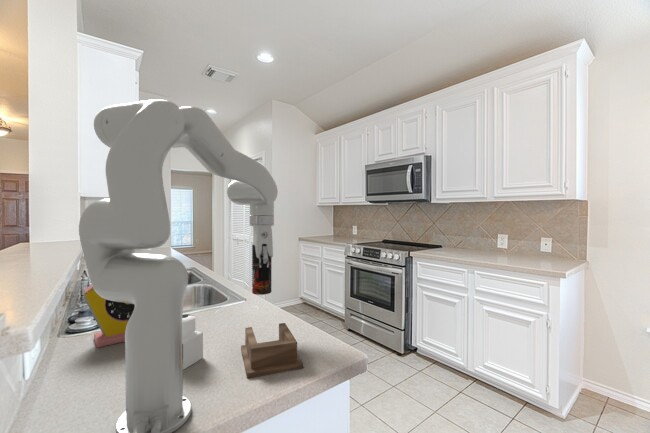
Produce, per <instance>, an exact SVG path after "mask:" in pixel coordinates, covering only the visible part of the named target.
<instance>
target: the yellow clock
mask: <svg viewBox="0 0 650 433" xmlns="http://www.w3.org/2000/svg"><path fill="white" fill-rule="evenodd" d="M82 297H83V299H84V301H85V304H86V305H87V307H88V308H89V310H90V313H91V314H92V316H93V318H94V320H95V322H96V324H97V326H98V328H99V329H100V331H97V332H95V333H94V334H93V339H94V343H95V347H96V348H98V349H99V348H104V347H109V346H111V345H116V344H120V343H125V331H126V326H127V323H128V321H129V319H130V317H131V315H132V313H133V311H134V307H135V305H134V304H130V303H123V302H116V301H110V300H106V299H104V298H102V297H100V296H99V295H98V294H97V293H96V292H95V290H94V288H93V286H92V284H91V283H90V285H88V286H87V287H86V288H85V289H84V290H83V294H82Z"/></svg>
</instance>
